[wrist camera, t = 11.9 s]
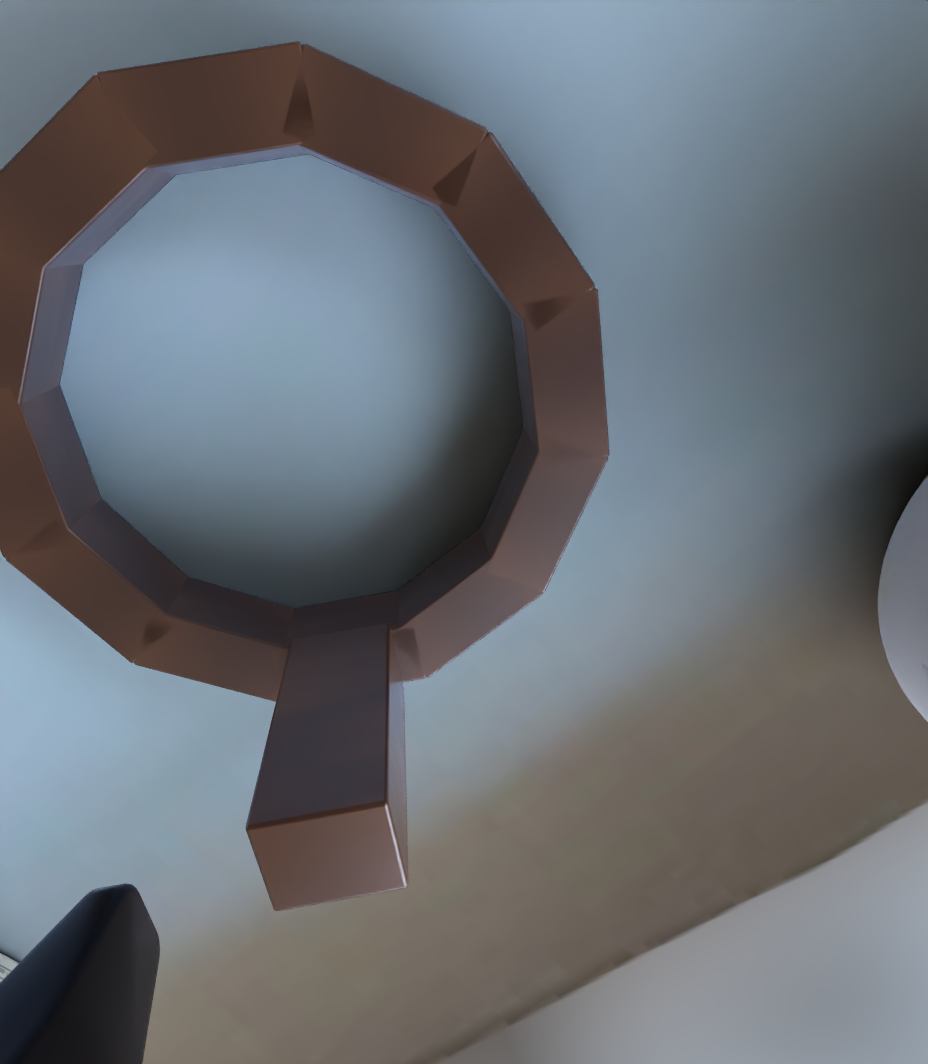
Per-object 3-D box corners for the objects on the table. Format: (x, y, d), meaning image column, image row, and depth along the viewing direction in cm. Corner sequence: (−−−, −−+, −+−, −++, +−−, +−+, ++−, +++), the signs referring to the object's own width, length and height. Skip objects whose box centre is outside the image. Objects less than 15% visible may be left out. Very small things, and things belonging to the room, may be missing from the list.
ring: (555, 25, 15) (711, -166, 8) (603, 612, 20) (721, 833, 13) (-118, 129, 15) (-635, 34, 7) (113, 698, 20) (-49, 972, 13)
